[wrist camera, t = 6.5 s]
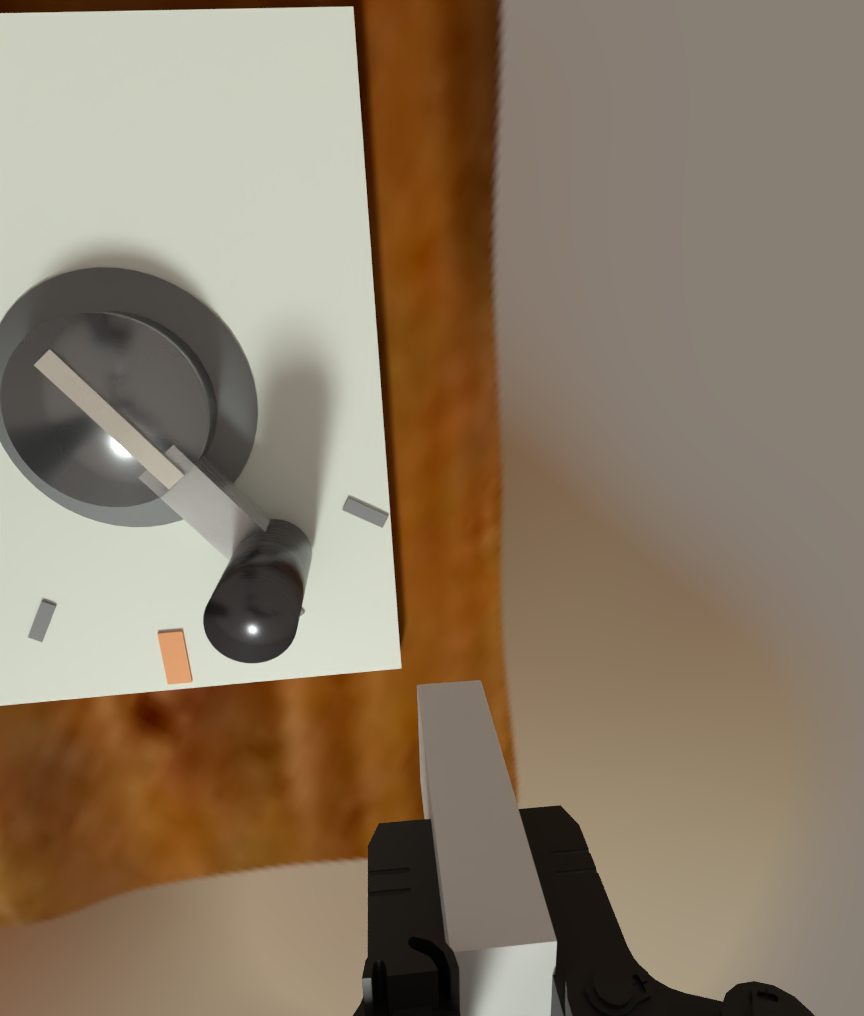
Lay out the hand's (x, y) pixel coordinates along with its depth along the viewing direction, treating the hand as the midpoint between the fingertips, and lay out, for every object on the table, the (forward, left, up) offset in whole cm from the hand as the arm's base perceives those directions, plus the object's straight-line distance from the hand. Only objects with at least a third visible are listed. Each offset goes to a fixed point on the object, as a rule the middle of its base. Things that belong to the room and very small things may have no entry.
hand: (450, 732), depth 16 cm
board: (-7, -10, -11) cm, 16 cm away
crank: (-5, -8, -9) cm, 13 cm away
